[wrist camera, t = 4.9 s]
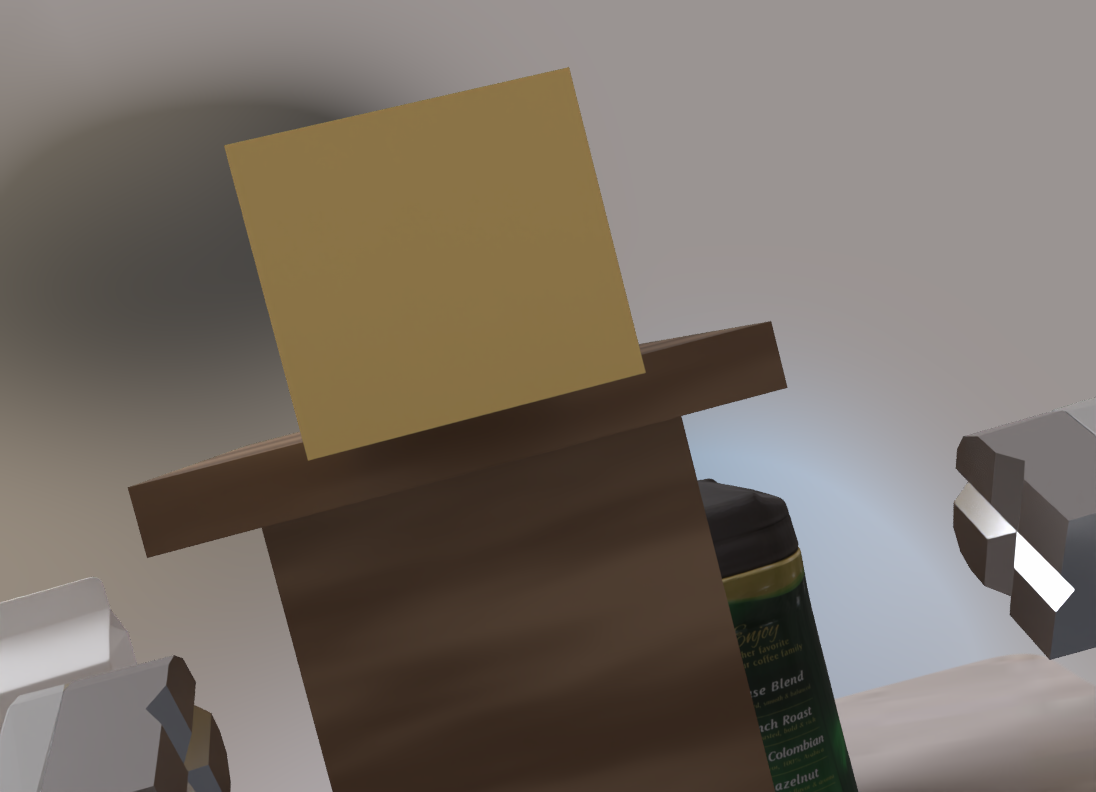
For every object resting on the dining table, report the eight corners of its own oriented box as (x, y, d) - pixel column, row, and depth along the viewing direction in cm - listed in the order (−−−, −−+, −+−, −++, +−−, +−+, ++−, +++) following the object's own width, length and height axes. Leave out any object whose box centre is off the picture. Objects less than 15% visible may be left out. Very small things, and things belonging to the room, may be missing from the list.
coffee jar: (902, 874, 47) (804, 473, 46) (736, 929, 46) (632, 521, 45) (820, 790, 56) (738, 458, 56) (681, 834, 56) (595, 496, 55)
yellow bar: (645, 372, 13) (569, 67, 13) (307, 460, 13) (223, 145, 13) (512, 377, 35) (483, 262, 35) (384, 410, 35) (354, 293, 35)
